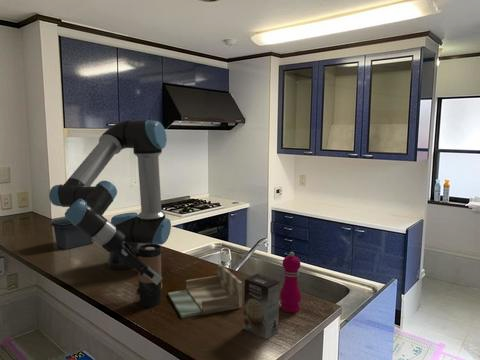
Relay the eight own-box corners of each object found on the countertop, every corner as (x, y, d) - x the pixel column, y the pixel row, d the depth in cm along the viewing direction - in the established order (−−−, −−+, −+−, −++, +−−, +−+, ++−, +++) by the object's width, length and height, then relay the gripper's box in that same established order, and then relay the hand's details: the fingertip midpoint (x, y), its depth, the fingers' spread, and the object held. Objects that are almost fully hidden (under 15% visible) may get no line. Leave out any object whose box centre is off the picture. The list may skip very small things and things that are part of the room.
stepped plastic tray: (167, 294, 137) (167, 271, 136) (220, 286, 145) (220, 263, 144) (182, 319, 119) (182, 292, 118) (241, 307, 127) (242, 282, 126)
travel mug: (166, 300, 132) (165, 246, 129) (150, 309, 125) (149, 251, 123) (150, 296, 135) (149, 242, 133) (134, 303, 129) (133, 248, 127)
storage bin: (61, 252, 184) (60, 224, 183) (47, 246, 194) (45, 219, 192) (100, 243, 201) (100, 217, 199) (85, 238, 210) (84, 213, 209)
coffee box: (242, 329, 113) (243, 278, 111) (255, 321, 118) (256, 272, 116) (266, 340, 107) (267, 286, 105) (279, 331, 112) (280, 280, 110)
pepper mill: (275, 308, 127) (276, 251, 125) (288, 301, 132) (289, 247, 130) (292, 315, 122) (293, 256, 120) (305, 308, 127) (307, 252, 125)
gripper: (98, 236, 132) (141, 271, 140) (103, 256, 110) (155, 297, 118) (113, 220, 134) (155, 255, 142) (121, 237, 111) (171, 278, 119)
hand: (155, 274), depth 130 cm, fingers open, 13 cm apart
